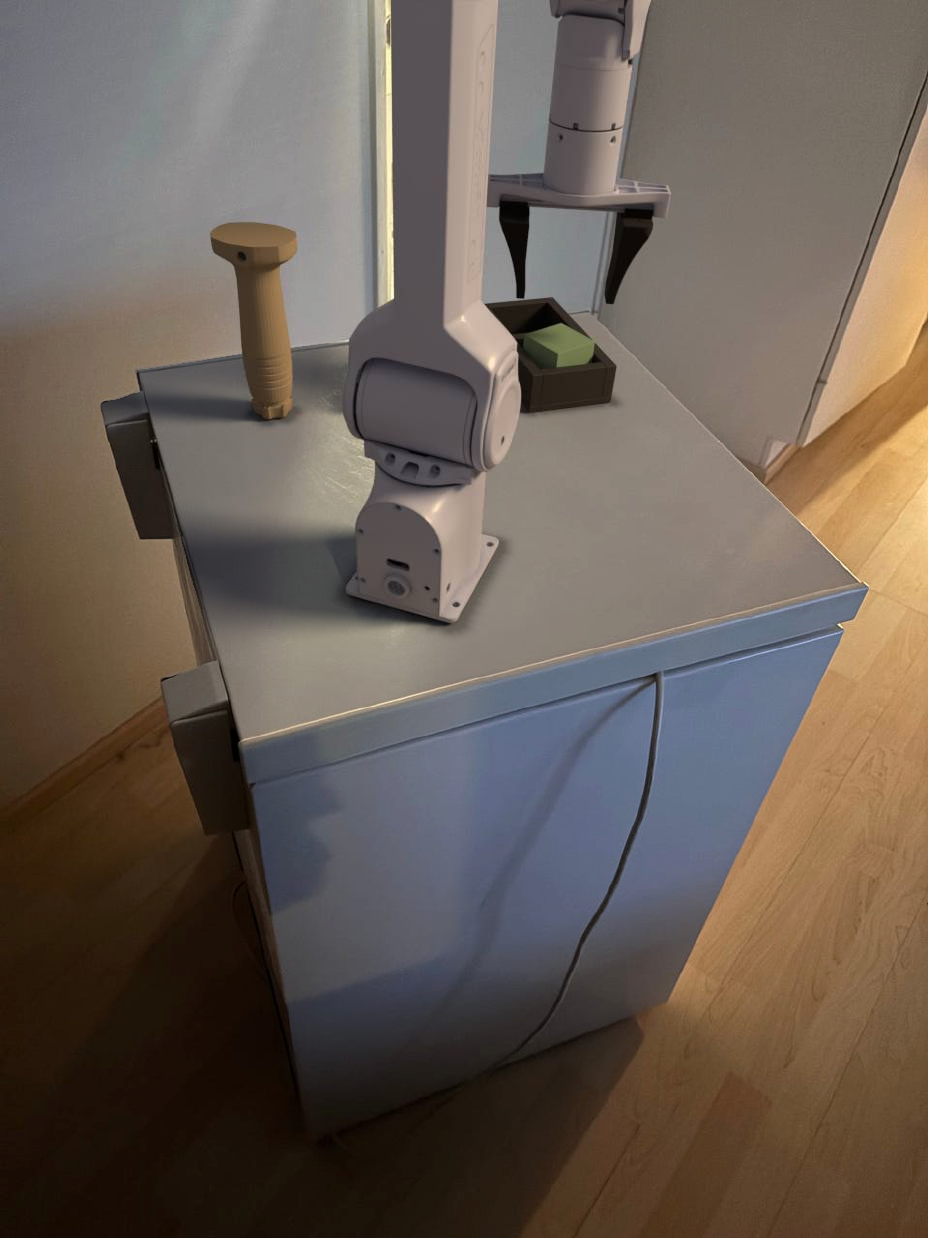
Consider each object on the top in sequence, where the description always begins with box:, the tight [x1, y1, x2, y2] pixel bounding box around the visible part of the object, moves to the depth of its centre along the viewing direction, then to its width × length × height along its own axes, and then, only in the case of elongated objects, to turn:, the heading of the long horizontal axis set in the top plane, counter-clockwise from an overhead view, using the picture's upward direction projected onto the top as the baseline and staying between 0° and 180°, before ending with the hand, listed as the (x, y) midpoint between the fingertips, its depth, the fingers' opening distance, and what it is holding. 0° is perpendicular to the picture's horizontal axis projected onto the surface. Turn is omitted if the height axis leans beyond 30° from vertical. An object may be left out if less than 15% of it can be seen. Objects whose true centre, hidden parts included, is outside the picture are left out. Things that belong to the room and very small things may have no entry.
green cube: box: [523, 323, 596, 370], centre depth 81 cm, size 4×4×4 cm
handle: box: [209, 221, 298, 420], centre depth 72 cm, size 5×6×15 cm
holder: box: [484, 296, 618, 414], centre depth 84 cm, size 8×15×4 cm, turn 18°
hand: (564, 296), depth 77 cm, fingers open, 7 cm apart
